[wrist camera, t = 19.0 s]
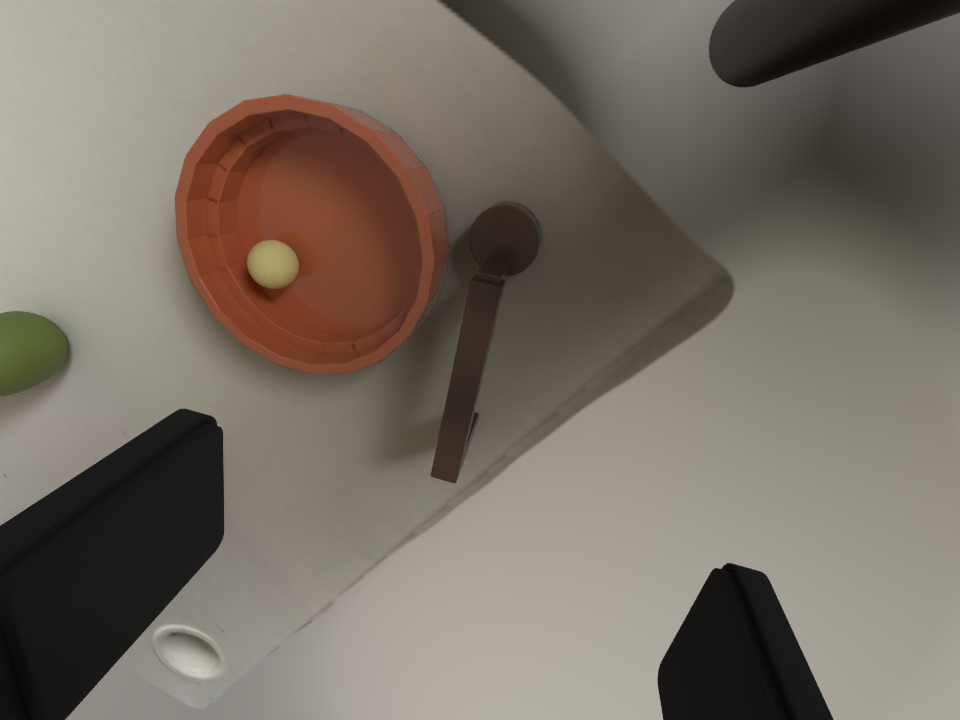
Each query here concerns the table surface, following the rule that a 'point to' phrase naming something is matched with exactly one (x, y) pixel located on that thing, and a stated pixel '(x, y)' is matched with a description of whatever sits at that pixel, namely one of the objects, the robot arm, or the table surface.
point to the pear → (28, 350)
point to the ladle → (482, 322)
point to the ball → (272, 264)
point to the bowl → (312, 231)
